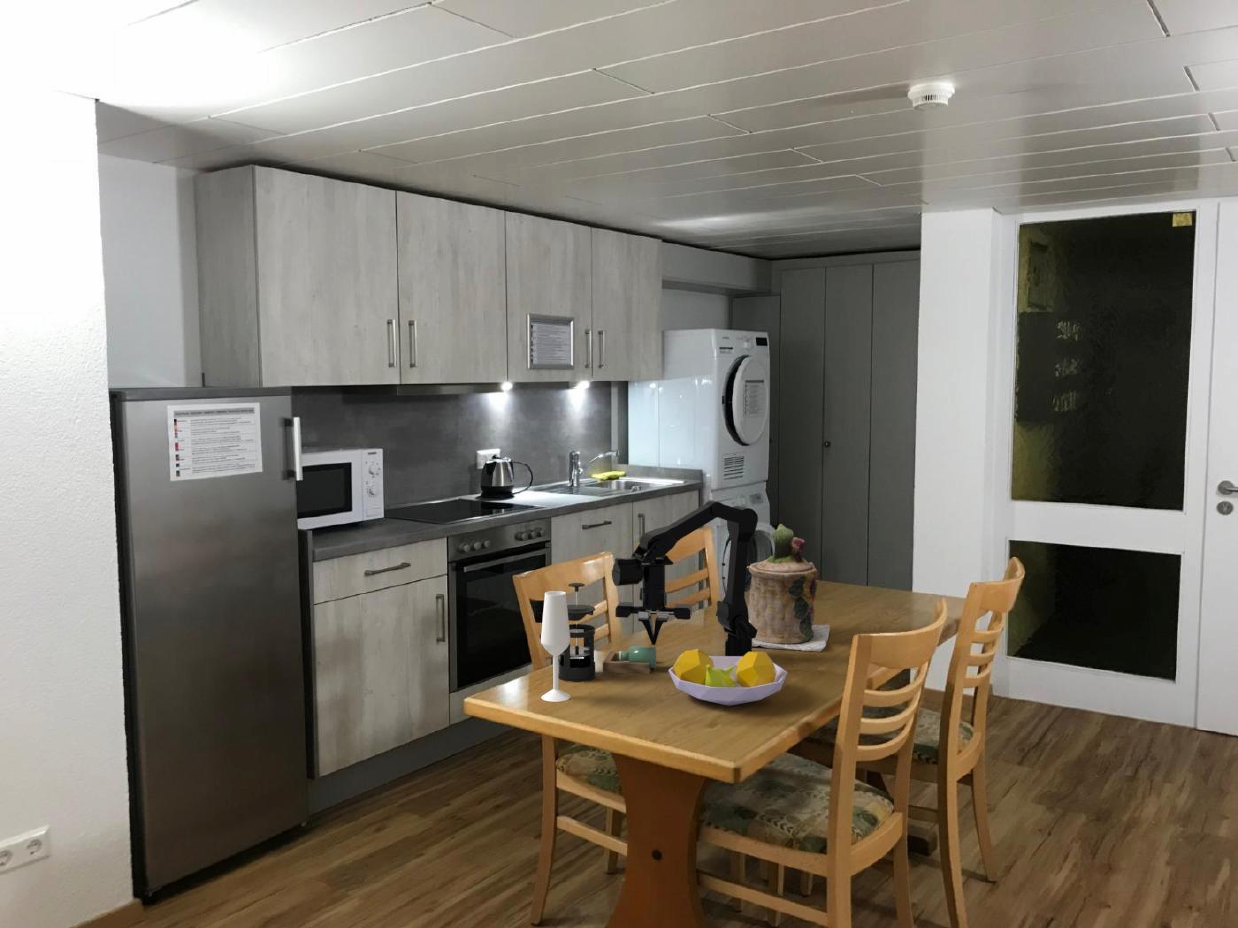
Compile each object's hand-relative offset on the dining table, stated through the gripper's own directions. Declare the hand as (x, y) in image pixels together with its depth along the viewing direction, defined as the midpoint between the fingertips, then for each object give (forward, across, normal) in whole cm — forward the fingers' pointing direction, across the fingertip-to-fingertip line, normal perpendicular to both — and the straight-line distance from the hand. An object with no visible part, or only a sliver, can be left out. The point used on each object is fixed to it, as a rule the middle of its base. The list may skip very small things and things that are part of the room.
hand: (653, 644), depth 252 cm
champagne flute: (+6, +19, +27) cm, 34 cm away
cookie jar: (+6, -32, -35) cm, 48 cm away
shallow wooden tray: (+6, +6, 0) cm, 8 cm away
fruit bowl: (+6, -19, +21) cm, 29 cm away
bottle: (+3, 0, +1) cm, 3 cm away
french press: (+6, +18, +10) cm, 22 cm away
